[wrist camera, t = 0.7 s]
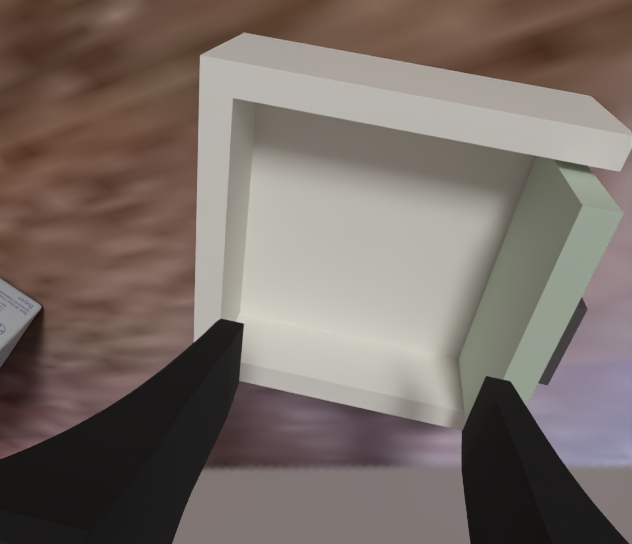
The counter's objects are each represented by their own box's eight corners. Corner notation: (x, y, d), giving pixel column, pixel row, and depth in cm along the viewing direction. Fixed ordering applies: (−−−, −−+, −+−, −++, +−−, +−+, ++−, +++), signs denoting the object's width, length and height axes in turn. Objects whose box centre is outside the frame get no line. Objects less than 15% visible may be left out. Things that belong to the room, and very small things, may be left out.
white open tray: (590, 96, 18) (637, 136, 14) (480, 360, 24) (492, 437, 21) (244, 32, 19) (200, 55, 15) (227, 306, 25) (193, 370, 21)
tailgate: (591, 150, 17) (649, 218, 13) (496, 366, 22) (515, 465, 18) (541, 141, 17) (582, 205, 13) (458, 358, 22) (468, 454, 18)
